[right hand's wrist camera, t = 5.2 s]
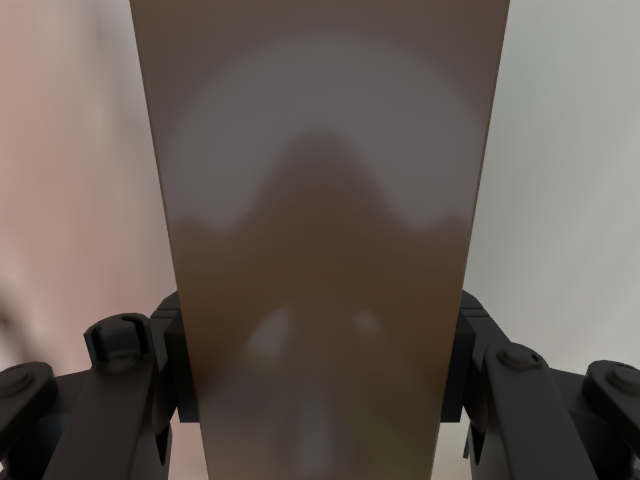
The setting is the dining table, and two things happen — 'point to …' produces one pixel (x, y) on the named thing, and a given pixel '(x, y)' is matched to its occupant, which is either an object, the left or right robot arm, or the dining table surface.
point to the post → (319, 218)
